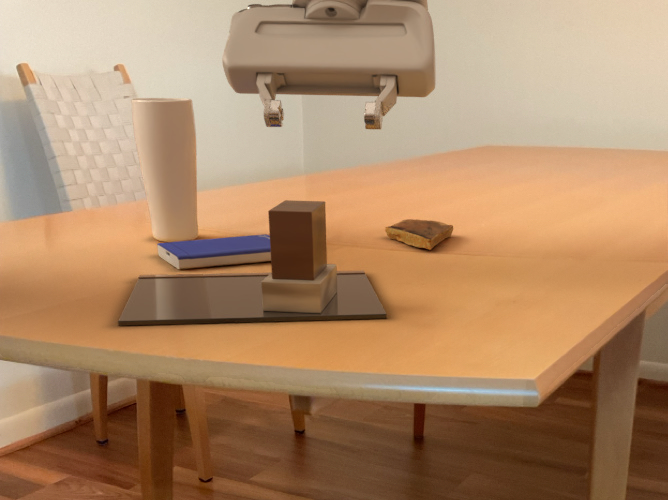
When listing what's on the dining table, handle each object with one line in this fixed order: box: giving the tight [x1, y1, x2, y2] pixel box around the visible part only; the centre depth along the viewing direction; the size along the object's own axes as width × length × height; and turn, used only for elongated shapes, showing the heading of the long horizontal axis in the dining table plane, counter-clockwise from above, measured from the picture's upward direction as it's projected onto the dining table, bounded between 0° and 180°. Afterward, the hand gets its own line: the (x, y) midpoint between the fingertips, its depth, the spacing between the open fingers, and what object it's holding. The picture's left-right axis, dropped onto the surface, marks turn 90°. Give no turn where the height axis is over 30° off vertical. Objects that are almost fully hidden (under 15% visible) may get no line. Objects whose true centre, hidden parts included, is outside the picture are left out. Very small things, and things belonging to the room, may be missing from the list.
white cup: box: [130, 97, 199, 243], centre depth 105 cm, size 7×7×15 cm
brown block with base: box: [261, 199, 338, 313], centre depth 79 cm, size 8×5×8 cm, turn 174°
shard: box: [384, 218, 454, 251], centre depth 108 cm, size 11×8×2 cm
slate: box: [117, 270, 388, 327], centre depth 83 cm, size 22×17×1 cm
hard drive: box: [156, 233, 271, 270], centre depth 99 cm, size 2×8×12 cm
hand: (322, 123), depth 85 cm, fingers open, 8 cm apart
